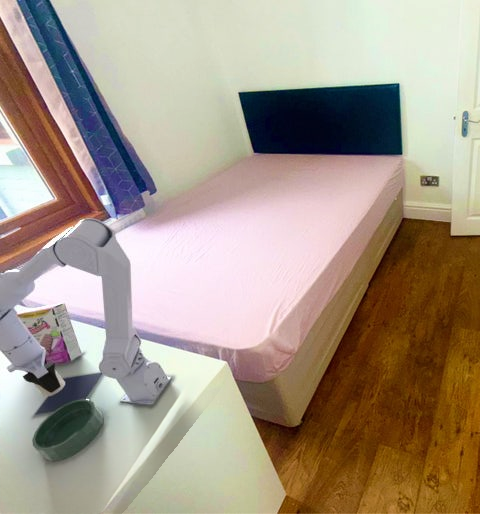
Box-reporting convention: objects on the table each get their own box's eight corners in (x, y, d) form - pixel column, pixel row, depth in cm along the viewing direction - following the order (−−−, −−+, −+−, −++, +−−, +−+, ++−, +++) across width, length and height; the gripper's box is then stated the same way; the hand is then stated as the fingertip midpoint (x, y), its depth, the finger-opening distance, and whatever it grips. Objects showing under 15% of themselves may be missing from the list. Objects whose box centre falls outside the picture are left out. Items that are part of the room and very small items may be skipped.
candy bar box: (33, 369, 101) (13, 314, 98) (46, 361, 106) (28, 308, 103) (71, 362, 100) (52, 307, 97) (83, 354, 105) (65, 301, 102)
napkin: (104, 373, 96) (103, 372, 96) (81, 408, 87) (80, 407, 87) (62, 379, 97) (61, 378, 97) (35, 415, 88) (34, 414, 87)
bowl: (115, 413, 84) (106, 401, 81) (73, 466, 74) (61, 453, 71) (76, 408, 87) (66, 396, 85) (31, 458, 77) (18, 446, 75)
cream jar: (69, 381, 84) (57, 366, 82) (53, 397, 81) (41, 382, 78) (55, 380, 86) (43, 365, 83) (39, 395, 82) (26, 381, 80)
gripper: (-14, 342, 78) (24, 384, 85) (1, 367, 69) (42, 412, 76) (23, 322, 82) (56, 364, 89) (42, 344, 74) (76, 388, 80)
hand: (52, 384), depth 83 cm, fingers closed on cream jar, 4 cm apart
